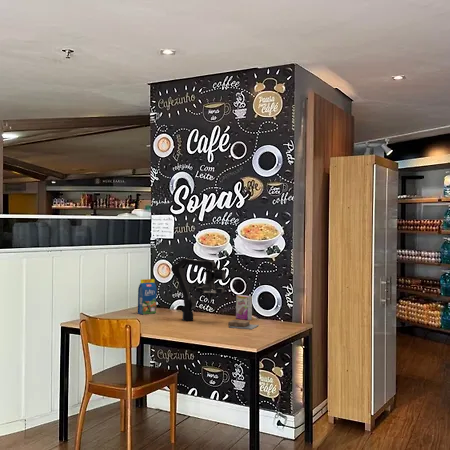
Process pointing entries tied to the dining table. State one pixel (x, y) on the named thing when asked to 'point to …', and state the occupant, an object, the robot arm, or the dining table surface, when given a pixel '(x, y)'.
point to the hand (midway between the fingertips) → (209, 302)
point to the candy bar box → (243, 307)
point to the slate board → (245, 327)
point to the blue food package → (147, 297)
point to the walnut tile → (239, 323)
